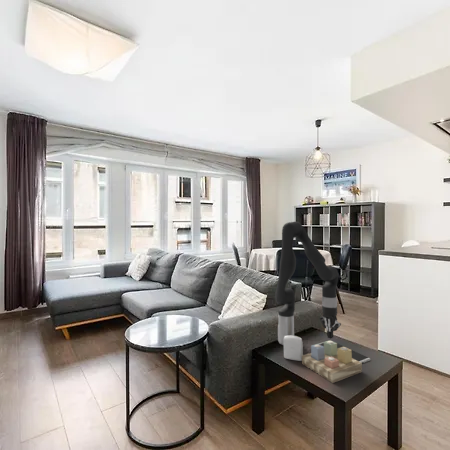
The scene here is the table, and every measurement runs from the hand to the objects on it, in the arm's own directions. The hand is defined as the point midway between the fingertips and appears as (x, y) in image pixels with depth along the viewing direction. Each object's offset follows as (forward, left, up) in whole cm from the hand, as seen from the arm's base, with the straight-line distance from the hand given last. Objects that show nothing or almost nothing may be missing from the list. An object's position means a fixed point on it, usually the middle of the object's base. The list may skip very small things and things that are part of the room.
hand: (330, 337), depth 150 cm
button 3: (+9, -9, -12) cm, 17 cm away
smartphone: (-5, +14, -14) cm, 20 cm away
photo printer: (-13, -14, -13) cm, 23 cm away
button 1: (0, -9, -9) cm, 12 cm away
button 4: (+9, 0, -9) cm, 12 cm away
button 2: (0, 0, -9) cm, 9 cm away
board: (+4, -4, -13) cm, 14 cm away
